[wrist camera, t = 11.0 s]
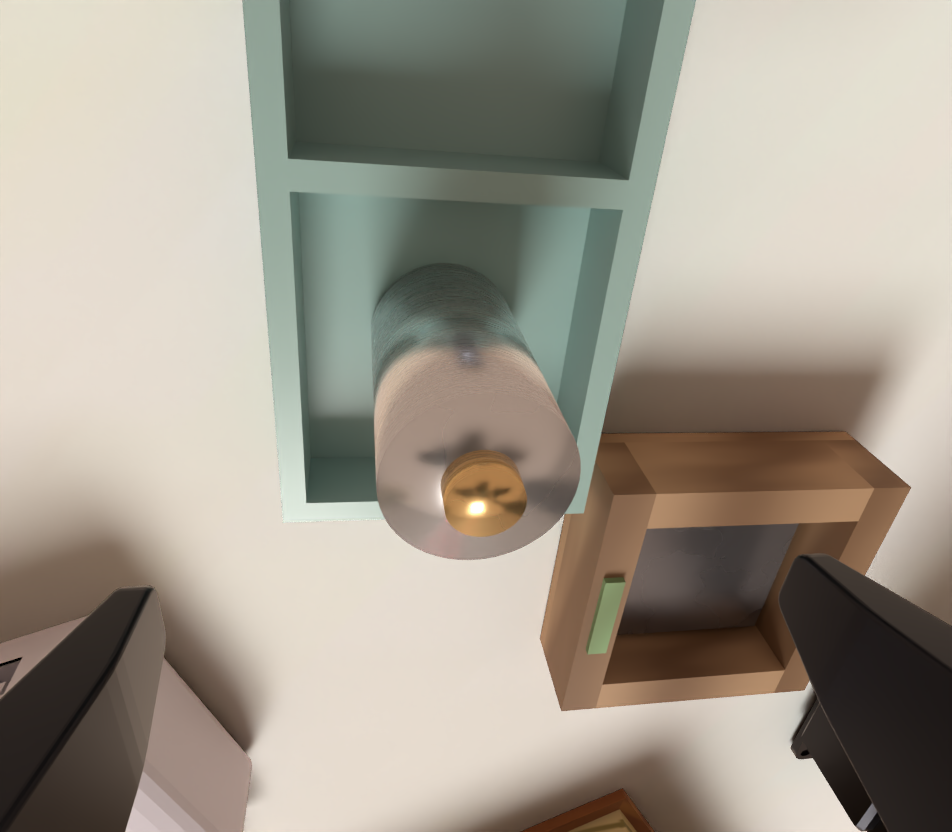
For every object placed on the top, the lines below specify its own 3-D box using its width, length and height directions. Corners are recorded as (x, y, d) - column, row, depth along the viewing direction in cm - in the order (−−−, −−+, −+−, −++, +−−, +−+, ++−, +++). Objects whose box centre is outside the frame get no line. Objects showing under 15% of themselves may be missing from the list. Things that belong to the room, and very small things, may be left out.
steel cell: (503, 393, 18) (572, 578, 12) (370, 392, 17) (376, 587, 12) (519, 266, 16) (609, 412, 10) (371, 260, 16) (378, 412, 10)
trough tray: (706, -330, 12) (784, -405, 10) (560, 461, 20) (583, 513, 18) (232, -431, 10) (199, -546, 8) (291, 465, 19) (283, 522, 17)
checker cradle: (845, 431, 21) (916, 491, 19) (760, 624, 26) (807, 694, 23) (581, 433, 20) (616, 499, 17) (540, 638, 24) (563, 716, 22)
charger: (118, 882, 29) (-145, 683, 21) (318, 820, 29) (132, 595, 21) (80, 1022, 25) (-263, 842, 17) (312, 950, 25) (78, 734, 17)
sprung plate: (797, 479, 22) (811, 494, 21) (743, 609, 25) (754, 626, 24) (623, 482, 20) (632, 498, 20) (589, 618, 24) (597, 636, 23)
